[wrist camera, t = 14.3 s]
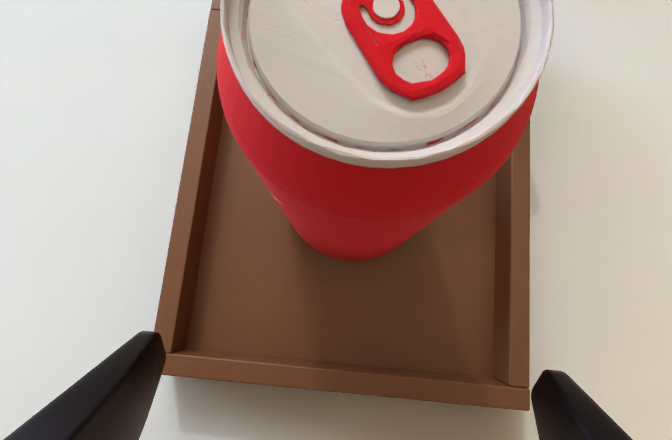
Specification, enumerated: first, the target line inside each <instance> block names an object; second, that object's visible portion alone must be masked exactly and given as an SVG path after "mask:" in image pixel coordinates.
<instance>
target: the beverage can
mask: <svg viewBox="0 0 672 440" xmlns="http://www.w3.org/2000/svg"><path fill="white" fill-rule="evenodd" d="M220 17H221V32H220V37H219V42H218V51H217V81H218V88H219V94H220V99H221V104H222V108H223V112H224V115H225V118H226V121H227V123H228V125H229V128H230V130H231V132H232V134H233V136H234V138H235V140H236V142H237V143H238V145H239V146H240V148H241V149H242V151H243V152H244V154H245V155H246V157H247V158H248V160H249V161H250V163H251V164H252V166H253V167H254V169H255V170H256V172H257V173H258V175H259V176H260V178H261V179H262V181H263V182H264V184H265V185H266V187H267V188H268V190H269V192H270V193H271V195H272V196H273V198H274V199H275V201H276V202H277V204H278V205H279V207H280V208H281V210H282V211H283V213H284V214H285V216H286V217H287V219H288V220H289V222H290V223H291V225H292V226H293V228H294V229H295V230H296V232H297V233H298V235H299V236H300V237H301V238H302V239H303V240H304V241H305V242H306V243H307V244H309V245H310V246H311V247H312V248H314V249H315V250H317V251H319V252H320V253H323V254H325V255H327V256H330V257H333V258H336V259H340V260H347V261H362V260H369V259H373V258H377V257H380V256H382V255H384V254H387V253H389V252H390V251H392V250H394V249H395V248H397V247H398V246H399V245H401V244H402V243H403V242H405V241H406V240H408V239H409V238H410V237H412V236H413V235H414V234H416V233H417V232H419V231H420V230H421V229H423V228H424V227H425V226H427V225H428V224H429V223H431V222H432V221H434V220H435V219H436V218H438V217H439V216H440V215H442V214H443V213H445V212H446V211H447V210H449V209H450V208H451V207H453V206H454V205H456V204H457V203H458V202H460V201H461V200H462V199H464V198H465V197H467V196H468V195H469V194H471V193H472V192H473V191H475V190H476V189H477V188H479V187H480V186H481V185H482V184H484V183H485V182H486V181H487V180H488V179H489V178H490V177H491V176H492V175H494V174H495V173H496V172H497V171H498V169H499V168H500V167H501V166H502V165H503V164H504V162H505V161H506V160H507V159H508V157H509V156H510V154H511V153H512V151H513V150H514V148H515V147H516V145H517V143H518V142H519V140H520V138H521V136H522V135H523V133H524V130H525V128H526V125H527V123H528V120H529V118H530V116H531V113H532V109H533V106H534V102H535V99H536V94H537V88H538V82H539V78H540V75H541V73H542V71H543V69H544V66H545V64H546V62H547V58H548V54H549V51H550V47H551V41H552V35H553V29H554V15H553V0H221V3H220Z"/></svg>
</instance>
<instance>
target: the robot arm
mask: <svg viewBox="0 0 672 440" xmlns="http://www.w3.org/2000/svg"><path fill="white" fill-rule="evenodd" d="M165 362H166V352H165V348H164V345H163V341H162V337H161V335H160V334H159V333H158V332H151V331H142V332H140V333H138V334H137V335H135V336H134V337H133V338H131V339H130V340H129V341H128V342H126V343H125V344H124V345H123V346H121V347H120V348H119V349H118V350H116V351H115V352H114V353H112V354H111V355H110V356H109V357H107V358H106V359H105V360H104V361H102V362H101V363H100V364H99V365H97V366H96V367H95V368H94V369H92V370H91V371H90V372H88V373H87V374H86V375H85V376H83V377H82V378H81V379H80V380H78V381H77V382H76V383H75V384H73V385H72V386H71V387H69V388H68V389H67V390H66V391H64V392H63V393H62V394H61V395H59V396H58V397H57V398H56V399H54V400H53V401H52V402H50V403H49V404H48V405H47V406H45V407H44V408H43V409H42V410H40V411H39V412H38V413H37V414H35V415H34V416H33V417H32V418H30V419H29V420H28V421H26V422H25V423H24V424H23V425H21V426H20V427H19V428H18V429H16V430H15V431H14V432H13V433H11V434H10V435H9V436H7V437H6V438H5V439H4V440H139V437H140V435H141V433H142V430H143V428H144V425H145V422H146V419H147V416H148V413H149V410H150V407H151V405H152V402H153V399H154V396H155V393H156V390H157V387H158V384H159V381H160V378H161V375H162V372H163V369H164V366H165ZM531 400H532V405H533V410H534V415H535V420H536V425H537V430H538V435H539V440H632V439H631V438H630V437H629V436H628V435H627V434H626V433H625V432H624V431H623V430H622V429H621V428H620V427H619V426H618V425H617V424H616V423H615V422H614V421H613V420H612V419H611V418H610V417H609V416H608V415H607V414H606V413H605V412H604V411H603V410H602V409H601V408H600V407H599V406H598V405H597V404H596V403H595V402H594V401H593V400H592V399H591V398H590V397H589V396H588V395H587V394H586V393H585V392H584V391H583V390H582V389H581V388H580V387H579V386H578V385H577V384H576V383H575V382H574V381H573V380H572V379H571V378H570V377H569V376H568V375H567V374H566V373H564V372H562V371H556V370H545V371H543V372H542V374H541V375H540V377H539V379H538V380H537V382H536V384H535V385H534V387H533V389H532V392H531Z"/></svg>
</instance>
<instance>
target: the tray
mask: <svg viewBox="0 0 672 440" xmlns="http://www.w3.org/2000/svg"><path fill="white" fill-rule="evenodd" d="M220 3H221V0H212V4H211V10H210V14H209V20H208V26H207V32H206V37H205V43H204V49H203V54H202V60H201V66H200V72H199V77H198V83H197V89H196V95H195V100H194V106H193V112H192V118H191V123H190V129H189V135H188V140H187V146H186V152H185V158H184V163H183V169H182V175H181V181H180V186H179V192H178V198H177V204H176V209H175V215H174V221H173V226H172V232H171V238H170V244H169V249H168V255H167V261H166V267H165V272H164V278H163V284H162V289H161V295H160V301H159V307H158V312H157V318H156V324H155V330H154V332H158V333H159V334H160V335H161V337H162V341H163V345H164V348H165V352H166V362H165V366H164V369H163V372H162V375H170V376H180V377H190V378H200V379H211V380H221V381H231V382H241V383H251V384H261V385H271V386H281V387H292V388H302V389H312V390H322V391H332V392H342V393H352V394H362V395H373V396H383V397H393V398H403V399H413V400H423V401H433V402H444V403H454V404H464V405H474V406H484V407H494V408H504V409H514V410H525V411H529V410H530V390H529V389H528V388H529V232H530V118H529V120H528V123H527V125H526V128H525V130H524V133H523V135H522V136H521V138H520V140H519V142H518V143H517V145H516V147H515V148H514V150H513V151H512V153H511V154H510V156H509V157H508V159H507V160H506V161H505V162H504V164H503V165H502V166H501V167H500V168H499V169H498V171H497V172H496V173H495V174H494V175H492V176H491V177H490V178H489V179H488V180H487V181H486V182H485V183H484V184H482V185H481V186H480V187H479V188H477V189H476V190H475V191H473V192H472V193H471V194H469V195H468V196H467V197H465V198H464V199H462V200H461V201H460V202H458V203H457V204H456V205H454V206H453V207H451V208H450V209H449V210H447V211H446V212H445V213H443V214H442V215H440V216H439V217H438V218H436V219H435V220H434V221H432V222H431V223H429V224H428V225H427V226H425V227H424V228H423V229H421V230H420V231H419V232H417V233H416V234H414V235H413V236H412V237H410V238H409V239H408V240H406V241H405V242H403V243H402V244H401V245H399V246H398V247H397V248H395V249H394V250H392V251H390V252H389V253H387V254H384V255H382V256H380V257H377V258H373V259H369V260H362V261H347V260H340V259H336V258H333V257H330V256H327V255H325V254H323V253H320V252H319V251H317V250H315V249H314V248H312V247H311V246H310V245H309V244H307V243H306V242H305V241H304V240H303V239H302V238H301V237H300V236H299V235H298V233H297V232H296V230H295V229H294V228H293V226H292V225H291V223H290V222H289V220H288V219H287V217H286V216H285V214H284V213H283V211H282V210H281V208H280V207H279V205H278V204H277V202H276V201H275V199H274V198H273V196H272V195H271V193H270V192H269V190H268V188H267V187H266V185H265V184H264V182H263V181H262V179H261V178H260V176H259V175H258V173H257V172H256V170H255V169H254V167H253V166H252V164H251V163H250V161H249V160H248V158H247V157H246V155H245V154H244V152H243V151H242V149H241V148H240V146H239V145H238V143H237V142H236V140H235V138H234V136H233V134H232V132H231V130H230V128H229V125H228V123H227V121H226V118H225V115H224V112H223V108H222V104H221V99H220V94H219V88H218V81H217V51H218V42H219V37H220V32H221V17H220Z"/></svg>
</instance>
